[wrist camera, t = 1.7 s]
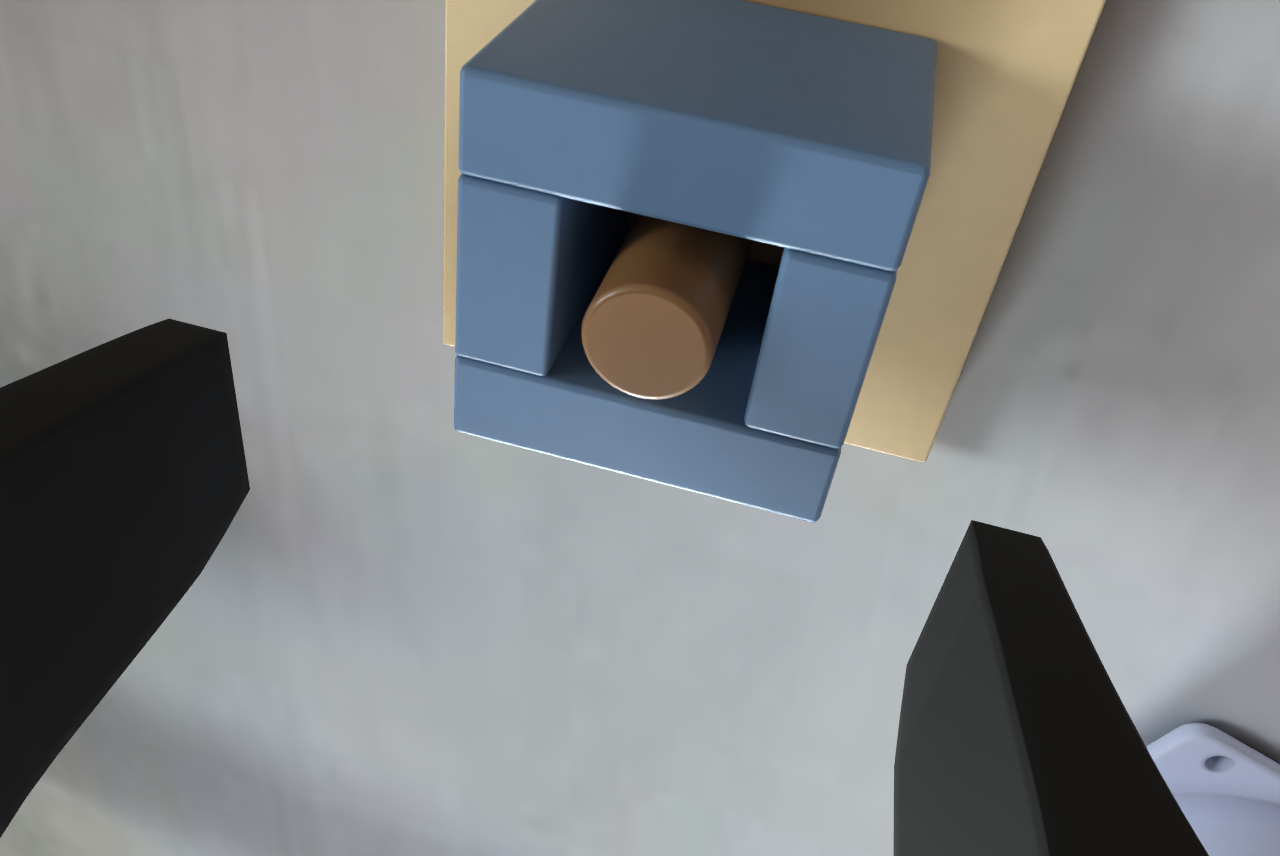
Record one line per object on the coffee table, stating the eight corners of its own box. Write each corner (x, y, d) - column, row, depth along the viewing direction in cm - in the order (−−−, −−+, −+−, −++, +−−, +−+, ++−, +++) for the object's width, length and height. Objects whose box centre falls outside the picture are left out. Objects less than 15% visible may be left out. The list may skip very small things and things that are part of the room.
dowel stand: (1132, -100, 14) (1217, 40, 9) (927, 437, 19) (916, 685, 15) (467, -223, 14) (246, -151, 10) (458, 322, 20) (314, 523, 16)
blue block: (939, 38, 14) (932, 168, 11) (845, 351, 18) (818, 527, 14) (572, -36, 15) (455, 66, 11) (546, 280, 18) (451, 433, 15)
